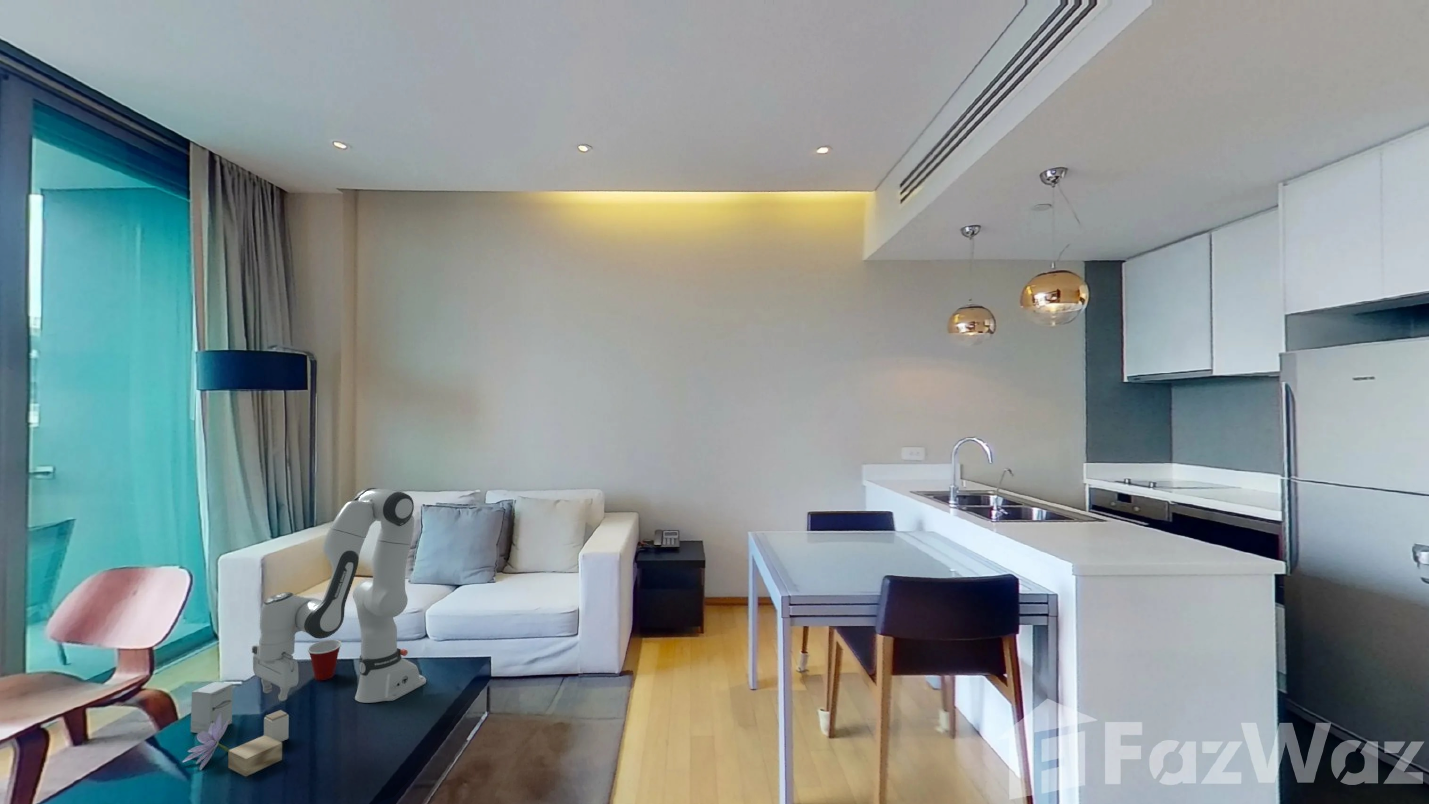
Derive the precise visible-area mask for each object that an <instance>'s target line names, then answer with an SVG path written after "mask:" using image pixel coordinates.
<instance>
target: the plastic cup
mask: <svg viewBox="0 0 1429 804" xmlns="http://www.w3.org/2000/svg"><path fill="white" fill-rule="evenodd" d="M342 642H343V641H341V640H339V639H327V640H320V641H318V642H315V643H312V644H311V645H310V646H308V647H307V653H308V654H309V655H310V656H309V657H310V660H311V665H312V669H313V670H312V671H313V674H314V675H313V676H314V679H315V680H316V681H325V680H329V679H332V678H333V677H334V675H335V670H336V667H337V662H338V656H339V652H340V648H341V646H342V644H343V643H342Z"/></svg>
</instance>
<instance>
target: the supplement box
mask: <svg viewBox="0 0 1429 804" xmlns="http://www.w3.org/2000/svg"><path fill="white" fill-rule="evenodd" d="M233 685H234V684H233V683H232V682H220V681H214V682H211V683H209V684H206V685H204V686H202V687H200V688H197V689H195V690H193V691H191V702H190V704H191V707H190V708H191V709H190V710H191V711H190V733H196V734H199V733H201V731H207V732H208V731H209V727H210V725H211V724H212V723H215V725H216V721H217V718H218V716H219V714H220V713H221V719H222V724H221V726H222V728H223V726H224V725H225V723H226V722H227V721H228V720H229V723H228V725H231V724H233V692H234V691H233V689H234V686H233Z"/></svg>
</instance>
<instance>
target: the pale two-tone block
mask: <svg viewBox="0 0 1429 804" xmlns="http://www.w3.org/2000/svg"><path fill="white" fill-rule="evenodd" d="M289 718H290V716H289V714H288V713H287V712H285V711H283V710H282V709H279V710H276V711H274V712H272V713H270V714H266V715H265V716H264V717H263V736H264V735H266V736H268V737H270V738H272V739H275V740H277V741H279V742H281V743H282V742H284V741H285V740H288V739H289V727H290V726H289V720H290V719H289Z"/></svg>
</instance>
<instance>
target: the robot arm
mask: <svg viewBox="0 0 1429 804" xmlns="http://www.w3.org/2000/svg"><path fill="white" fill-rule="evenodd" d="M414 504H415V503H414V499H413V498H412V497H411V496H410V495H409V494H407V493H405V492H403V491H397V490H394V489H389V488H377V487H369V488H364V489H363V490H361V491H359V492H358V493H357V494H356V495H355V496H354V498H353V499H352V500H351V501H347V502H346V503H345V504H344V505H343V506H342V508H341V509H340V511H339V512H338V513H337V515H336V517H334V519H333V521H332V523H331V525H330V527H329V529H328V531H327V533H326V536H325V537H324V541H323V545H322V551H323V554H324V555H325V557H326V558H327V560H328V561H329V563H330V565H331V568H332V572H331V573H332V574H331V577H330V580H329V583H328V584H327V588H326V591H325V594H324V596H323V598H322V600H321V599H317V598H314V597H303V596H299V595H296V594H294V593H292V592H290V591H289V592H286V591H285V592H282V593H277V594H273V595H271V596H270V597H268V598H266V599H265V600H264V602H263V604H262V606H261V609H260V611H261V612H260V618H259V630H260V638H259V640H258V643H257V644H254V645H252V647H251V653H252V654H253V656H252V670H253V674H254V675H255V677H256V676H257V677H258V678H260V682H261V686H262V692H263V693H265V694H268V693H271V692H272V691H273V689H272V688H273V685H275V686H277V687H279V690H280V692H279V693H278V694H277V699H278V700H279V701H280V702H283V701H286V700H287V699H288V693H289V692H290V689H291V688H294V687H296V686H297V685H298V683H299V664H298V661H297V660H296V659H295V658H294V656H293V654H294V653H295V643H296V642H295V640H296V634H297V633H299V632H303V633H306V634H308V635H309V636H311V637H313V638H315V639H326V638H328V637H331V636H333V635H334V634H335V633H336V632H338V630H339V629H340V628H341V627H342V624H343V622H344V618H345V611H346V610H345V608H346V603H347V600H348V597H349V594H350V591H351V588H352V585H353V583H354V580H355V577H356V574H357V571H358V567H359V561H360V560H359V559H360V554H361V550H362V547H363V545H364V542H365V540H366V538H367V535H368V532H369V530H370V527H371V526H372V525H373V523H375V522H376V521H377V522H380V527H381V528H380V530H379V533H378V537H377V539H376V543H375V547H374V551H373V554H372V558H371V567H372V578H367V579H366V578H365V579H363V580H361V581H360V582H358V583H357V584H356V586H354V589H353V591H352V598H353V602H354V604H355V608H356V612H357V613H356V614H357V619H358V623H359V624H358V625H359V629H360V655H359V658H358V659H359V661H358V662H359V663H358V664H359V666H358V667H359V668H358V669H359V671H358V672H359V680H358V685H357V686H358V687H357V691H356V693H355V696H354V699H355V701H357V702H359V703H365V704H366V703H367V704H368V703H372V704H373V703H378V702H386V701H387V702H390V701H391V702H392V701H395V700H397V699H399V698H401V697H403V696H404V695H407V694H409V693H411V692H412V691H414V690H415V689H418V688H420V687H422V686H423V685H425V684H427V679H426V677H425V676H423V675H422V674H420V670H419V669H418V668H419V667H418V666H417V665H416V664H415V663H413V662H411V661H410V660H407V659H405V658H403V657H406V656H407V655H408V653H409V651H408V650H407V649H404V648H402V649H401V648H398V628H397V624H396V622H395V620H394V618H395V617H397V616H399V615H401V614H402V613H403V612H404V611H405V609H406V607H407V606H408V600H409V599H408V594H407V591H406V567H407V562H408V557H409V554H410V550H411V545H412V541H413V537H414V530H415V528H414V527H415V517H414V516H413V513H414V508H415V505H414ZM271 684H273V685H271Z"/></svg>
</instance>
